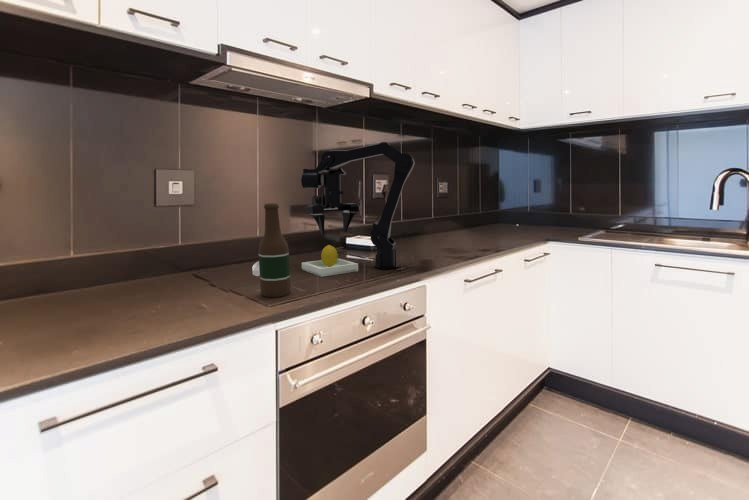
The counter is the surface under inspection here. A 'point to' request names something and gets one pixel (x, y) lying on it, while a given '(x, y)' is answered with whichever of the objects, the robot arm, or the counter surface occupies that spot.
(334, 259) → the lemon
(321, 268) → the tray
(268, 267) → the beer bottle
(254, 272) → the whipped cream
